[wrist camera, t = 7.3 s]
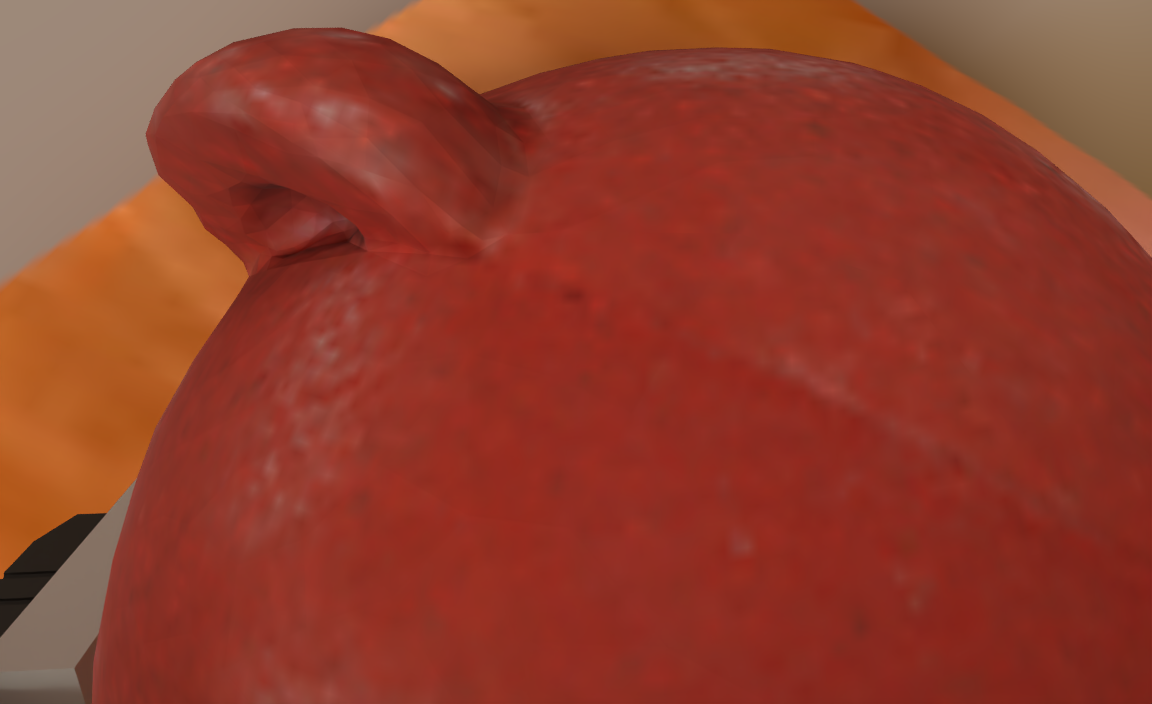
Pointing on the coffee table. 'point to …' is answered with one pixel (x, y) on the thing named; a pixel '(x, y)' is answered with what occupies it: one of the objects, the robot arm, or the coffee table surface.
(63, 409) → the coffee table surface
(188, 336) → the coffee table surface
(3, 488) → the coffee table surface
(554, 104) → the stacking bear
